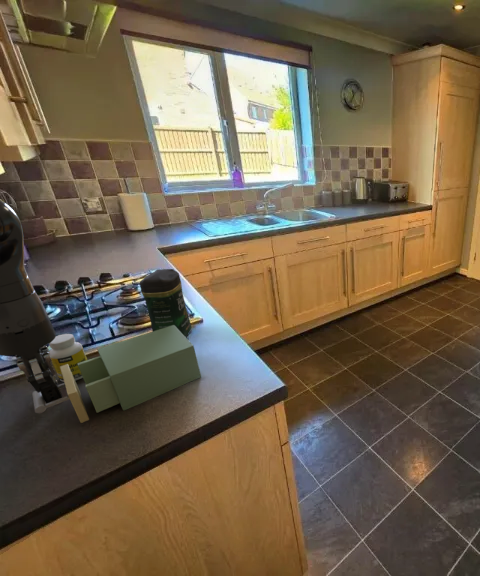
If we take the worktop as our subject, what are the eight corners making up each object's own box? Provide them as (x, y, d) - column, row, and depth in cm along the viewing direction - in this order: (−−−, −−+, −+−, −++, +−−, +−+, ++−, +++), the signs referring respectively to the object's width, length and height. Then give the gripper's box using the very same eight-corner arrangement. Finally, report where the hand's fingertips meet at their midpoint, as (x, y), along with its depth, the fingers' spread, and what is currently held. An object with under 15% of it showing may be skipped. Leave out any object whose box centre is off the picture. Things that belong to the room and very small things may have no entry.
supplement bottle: (65, 386, 71) (47, 348, 67) (56, 377, 73) (39, 340, 69) (95, 373, 75) (81, 336, 71) (86, 364, 78) (72, 329, 74)
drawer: (45, 438, 58) (30, 408, 55) (40, 404, 65) (26, 377, 62) (163, 388, 70) (155, 362, 67) (147, 364, 77) (140, 340, 74)
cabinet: (123, 411, 65) (110, 376, 61) (109, 381, 73) (97, 348, 69) (201, 377, 75) (193, 345, 71) (181, 354, 83) (174, 324, 79)
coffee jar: (184, 343, 87) (168, 279, 79) (151, 346, 85) (131, 280, 78) (196, 325, 95) (182, 265, 88) (166, 327, 94) (149, 266, 86)
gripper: (-18, 314, 56) (24, 393, 63) (-19, 345, 48) (29, 432, 55) (43, 301, 61) (75, 375, 68) (51, 326, 53) (87, 408, 60)
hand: (54, 400), depth 62 cm, fingers closed
